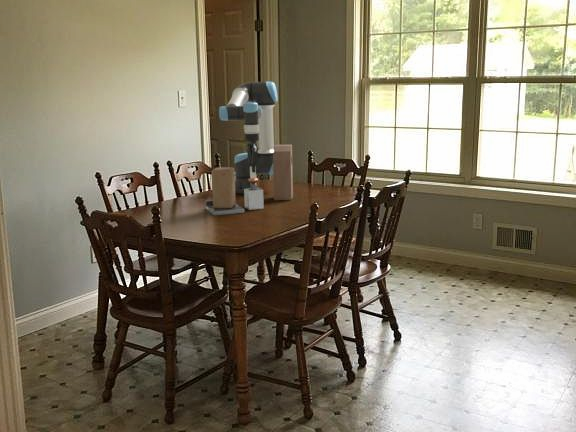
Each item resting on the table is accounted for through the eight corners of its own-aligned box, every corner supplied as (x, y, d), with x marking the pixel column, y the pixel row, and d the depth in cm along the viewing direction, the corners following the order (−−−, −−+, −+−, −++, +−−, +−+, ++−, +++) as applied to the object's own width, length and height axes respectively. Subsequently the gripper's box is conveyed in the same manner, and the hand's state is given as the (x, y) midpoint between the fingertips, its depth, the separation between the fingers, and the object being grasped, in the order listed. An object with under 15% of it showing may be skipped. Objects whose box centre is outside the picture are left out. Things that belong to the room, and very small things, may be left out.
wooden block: (231, 208, 324) (230, 170, 320) (212, 208, 326) (210, 170, 322) (236, 205, 334) (234, 167, 330) (217, 204, 335) (215, 167, 331)
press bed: (205, 208, 336) (205, 200, 335) (235, 206, 341) (234, 198, 340) (213, 215, 319) (213, 206, 318) (244, 212, 325) (244, 204, 324)
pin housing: (244, 207, 338) (244, 188, 336) (259, 205, 341) (258, 187, 338) (249, 210, 330) (248, 191, 328) (263, 208, 333) (263, 189, 331)
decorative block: (293, 196, 364) (291, 144, 358) (291, 200, 354) (290, 146, 348) (276, 196, 365) (274, 144, 359) (273, 200, 355) (272, 146, 349)
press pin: (248, 199, 336) (247, 178, 334) (257, 198, 338) (256, 177, 335) (250, 200, 331) (250, 179, 329) (259, 199, 333) (259, 179, 331)
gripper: (241, 132, 332) (242, 177, 337) (248, 134, 320) (249, 180, 325) (254, 131, 334) (256, 176, 339) (262, 133, 322) (263, 179, 327)
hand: (253, 178), depth 332 cm, fingers closed
